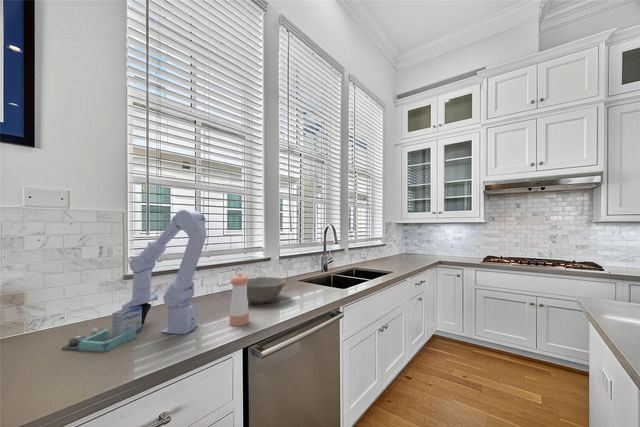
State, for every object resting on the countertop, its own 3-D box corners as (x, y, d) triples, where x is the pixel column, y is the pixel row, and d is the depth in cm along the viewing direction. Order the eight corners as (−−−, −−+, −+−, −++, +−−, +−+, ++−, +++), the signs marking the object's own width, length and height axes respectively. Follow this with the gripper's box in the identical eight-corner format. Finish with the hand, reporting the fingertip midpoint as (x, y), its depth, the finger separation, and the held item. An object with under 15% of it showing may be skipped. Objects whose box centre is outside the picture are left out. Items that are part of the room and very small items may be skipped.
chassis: (136, 337, 92) (137, 328, 92) (106, 353, 81) (107, 342, 81) (96, 334, 94) (97, 325, 94) (62, 349, 83) (62, 338, 83)
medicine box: (122, 339, 91) (123, 313, 91) (111, 338, 91) (112, 312, 92) (141, 329, 99) (142, 305, 99) (131, 329, 99) (131, 305, 99)
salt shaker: (252, 322, 107) (253, 273, 107) (235, 327, 101) (236, 276, 102) (242, 318, 112) (243, 271, 112) (225, 322, 106) (226, 273, 107)
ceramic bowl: (229, 303, 132) (230, 282, 133) (264, 293, 151) (264, 275, 151) (261, 311, 120) (261, 289, 120) (294, 299, 138) (294, 280, 139)
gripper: (147, 283, 109) (146, 317, 109) (115, 292, 95) (113, 331, 95) (163, 283, 108) (162, 318, 108) (132, 293, 94) (131, 332, 93)
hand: (140, 324), depth 101 cm, fingers closed
